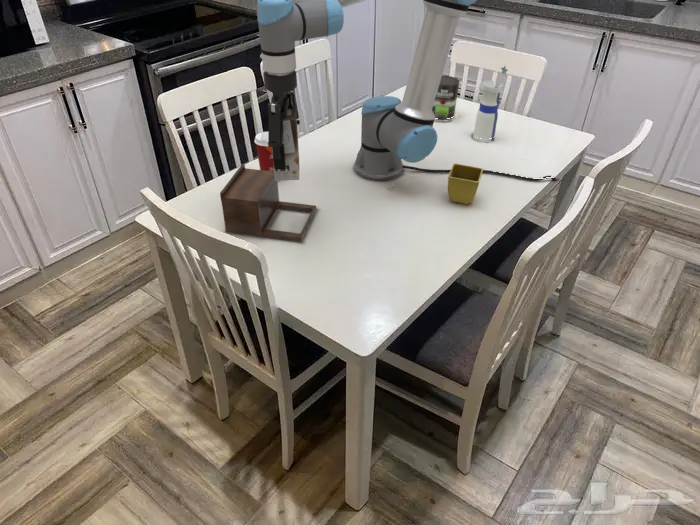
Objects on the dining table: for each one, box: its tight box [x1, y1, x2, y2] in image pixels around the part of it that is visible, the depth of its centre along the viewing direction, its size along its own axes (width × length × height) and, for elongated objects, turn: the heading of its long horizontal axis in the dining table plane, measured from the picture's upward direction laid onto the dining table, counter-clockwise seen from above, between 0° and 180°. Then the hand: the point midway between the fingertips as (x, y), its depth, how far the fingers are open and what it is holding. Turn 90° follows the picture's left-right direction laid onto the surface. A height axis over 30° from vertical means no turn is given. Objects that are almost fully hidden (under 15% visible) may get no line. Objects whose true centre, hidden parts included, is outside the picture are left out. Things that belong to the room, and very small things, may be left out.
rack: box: [219, 163, 317, 243], centre depth 145 cm, size 21×16×12 cm
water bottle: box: [472, 65, 509, 143], centre depth 185 cm, size 8×9×25 cm
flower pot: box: [447, 163, 484, 205], centre depth 156 cm, size 9×9×9 cm
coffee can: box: [432, 75, 460, 123], centre depth 202 cm, size 10×10×14 cm
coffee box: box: [272, 105, 300, 182], centre depth 133 cm, size 9×6×16 cm
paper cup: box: [254, 131, 274, 171], centre depth 163 cm, size 8×8×14 cm
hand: (286, 158), depth 136 cm, fingers closed on coffee box, 10 cm apart
